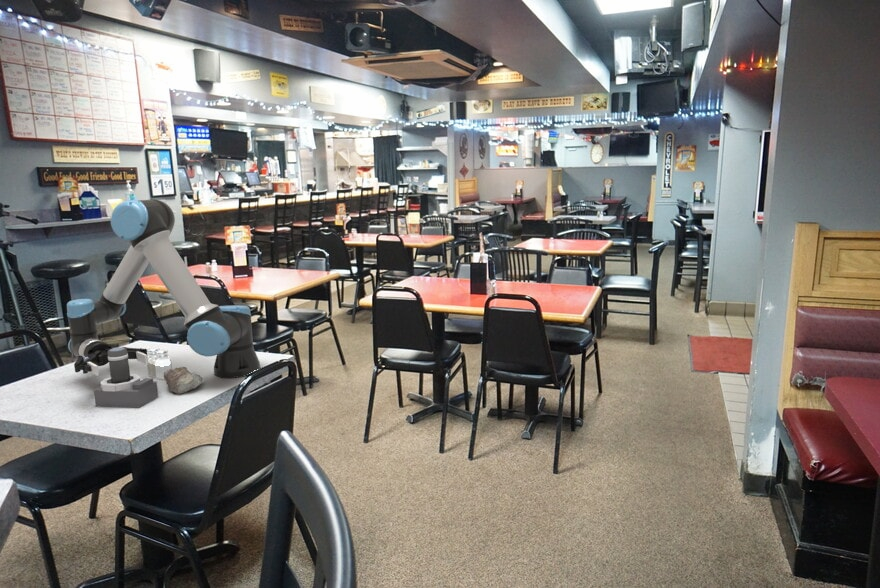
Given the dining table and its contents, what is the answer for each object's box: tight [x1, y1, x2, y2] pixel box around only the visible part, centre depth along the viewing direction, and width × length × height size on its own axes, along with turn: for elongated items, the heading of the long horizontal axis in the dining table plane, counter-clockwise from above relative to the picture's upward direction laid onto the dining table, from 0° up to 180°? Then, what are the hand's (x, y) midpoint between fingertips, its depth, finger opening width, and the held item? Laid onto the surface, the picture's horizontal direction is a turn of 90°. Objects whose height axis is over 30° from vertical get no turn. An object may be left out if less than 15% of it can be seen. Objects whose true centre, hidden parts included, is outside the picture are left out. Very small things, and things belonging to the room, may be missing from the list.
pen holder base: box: [93, 373, 159, 409], centre depth 174 cm, size 14×10×7 cm
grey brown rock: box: [163, 366, 204, 395], centre depth 185 cm, size 14×9×10 cm
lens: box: [107, 346, 131, 384], centre depth 173 cm, size 5×5×11 cm
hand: (122, 365), depth 170 cm, fingers open, 13 cm apart
